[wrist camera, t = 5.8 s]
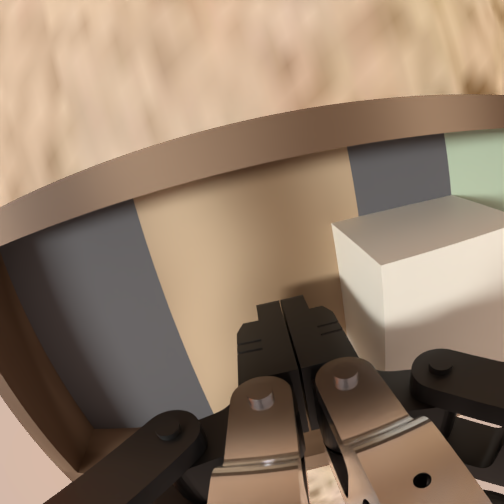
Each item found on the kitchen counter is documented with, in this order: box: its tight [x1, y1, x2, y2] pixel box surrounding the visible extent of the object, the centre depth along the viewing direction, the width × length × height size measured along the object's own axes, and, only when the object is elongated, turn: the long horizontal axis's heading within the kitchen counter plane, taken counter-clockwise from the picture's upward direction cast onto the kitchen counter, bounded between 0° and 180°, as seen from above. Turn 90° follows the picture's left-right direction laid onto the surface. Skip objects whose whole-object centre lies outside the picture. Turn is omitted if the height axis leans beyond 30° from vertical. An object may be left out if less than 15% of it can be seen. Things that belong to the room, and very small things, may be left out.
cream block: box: [331, 195, 504, 371], centre depth 9 cm, size 5×5×4 cm
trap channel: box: [0, 94, 504, 482], centre depth 10 cm, size 26×12×4 cm, turn 103°
